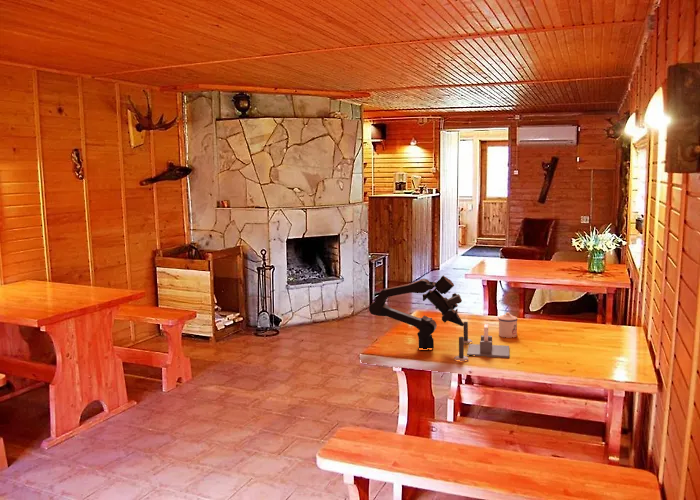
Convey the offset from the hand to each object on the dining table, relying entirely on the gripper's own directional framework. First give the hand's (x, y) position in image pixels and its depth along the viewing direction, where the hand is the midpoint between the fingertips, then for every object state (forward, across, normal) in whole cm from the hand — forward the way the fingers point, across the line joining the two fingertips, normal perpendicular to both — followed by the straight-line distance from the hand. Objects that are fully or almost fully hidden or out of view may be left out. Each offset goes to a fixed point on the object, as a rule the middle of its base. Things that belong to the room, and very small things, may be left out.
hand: (463, 325), depth 261 cm
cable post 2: (+8, +14, +8) cm, 18 cm away
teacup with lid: (+22, +31, -6) cm, 39 cm away
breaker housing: (+16, 0, +1) cm, 16 cm away
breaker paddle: (+14, 0, 0) cm, 14 cm away
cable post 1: (+8, -14, +8) cm, 18 cm away
